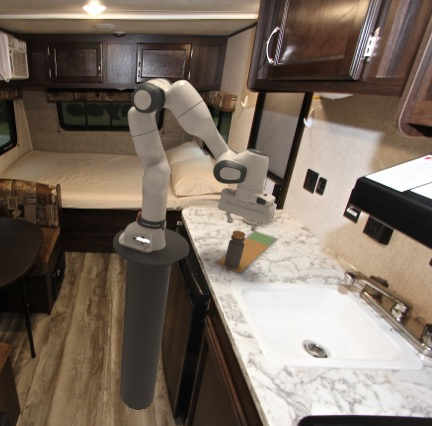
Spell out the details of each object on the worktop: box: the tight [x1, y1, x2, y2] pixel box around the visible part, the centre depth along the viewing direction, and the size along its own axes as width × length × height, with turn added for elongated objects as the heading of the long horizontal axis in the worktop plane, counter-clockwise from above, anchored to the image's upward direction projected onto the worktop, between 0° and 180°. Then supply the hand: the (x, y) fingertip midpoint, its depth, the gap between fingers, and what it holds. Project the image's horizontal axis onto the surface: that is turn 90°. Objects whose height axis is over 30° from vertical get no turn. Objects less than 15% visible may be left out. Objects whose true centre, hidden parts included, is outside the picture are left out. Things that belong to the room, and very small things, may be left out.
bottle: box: [225, 230, 246, 268], centre depth 119 cm, size 6×6×15 cm
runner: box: [216, 237, 269, 274], centre depth 130 cm, size 31×10×1 cm, turn 134°
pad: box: [247, 231, 277, 247], centre depth 143 cm, size 10×10×1 cm
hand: (241, 226), depth 114 cm, fingers open, 8 cm apart
